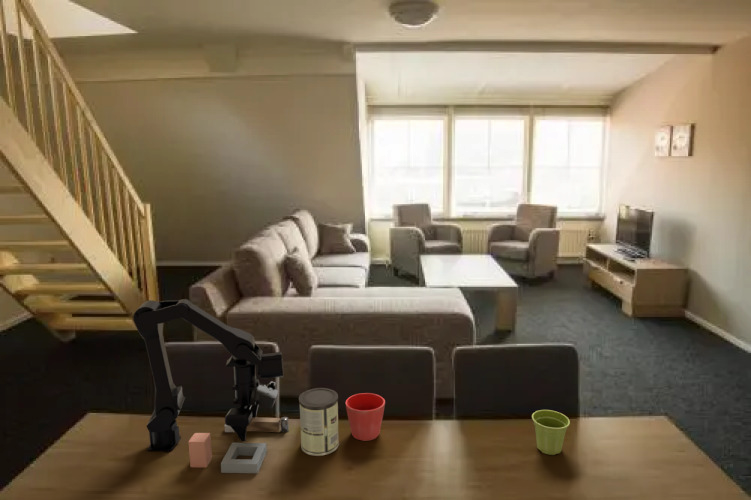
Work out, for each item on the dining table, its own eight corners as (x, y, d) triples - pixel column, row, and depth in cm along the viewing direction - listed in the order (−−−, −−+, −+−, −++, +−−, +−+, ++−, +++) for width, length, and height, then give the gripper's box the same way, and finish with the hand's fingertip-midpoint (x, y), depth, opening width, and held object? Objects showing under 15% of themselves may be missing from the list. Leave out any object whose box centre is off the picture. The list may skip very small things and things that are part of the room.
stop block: (225, 432, 138) (224, 425, 137) (228, 426, 141) (228, 420, 140) (235, 432, 138) (235, 425, 137) (238, 426, 141) (238, 420, 140)
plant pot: (528, 454, 127) (530, 424, 125) (531, 435, 135) (533, 407, 134) (567, 462, 123) (569, 431, 122) (567, 443, 132) (570, 413, 130)
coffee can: (305, 433, 137) (304, 386, 134) (341, 435, 136) (341, 388, 133) (296, 455, 127) (294, 405, 124) (335, 457, 126) (334, 407, 123)
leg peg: (190, 467, 122) (188, 441, 121) (196, 457, 126) (194, 432, 125) (206, 467, 122) (204, 442, 121) (212, 457, 126) (210, 433, 125)
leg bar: (280, 427, 140) (280, 418, 139) (278, 432, 138) (278, 422, 137) (243, 426, 141) (242, 416, 140) (240, 430, 138) (239, 420, 138)
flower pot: (349, 422, 143) (349, 391, 141) (387, 424, 141) (387, 393, 140) (342, 442, 133) (341, 409, 131) (382, 445, 131) (382, 412, 129)
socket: (221, 472, 120) (220, 463, 119) (233, 451, 129) (232, 442, 128) (257, 473, 120) (257, 464, 119) (266, 451, 128) (266, 443, 128)
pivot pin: (280, 432, 138) (279, 420, 137) (281, 427, 140) (281, 416, 139) (287, 432, 138) (287, 420, 137) (289, 428, 140) (289, 416, 139)
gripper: (265, 396, 123) (268, 452, 126) (282, 365, 142) (284, 414, 145) (222, 395, 124) (226, 451, 127) (244, 364, 142) (247, 414, 145)
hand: (248, 431), depth 136 cm, fingers open, 9 cm apart
